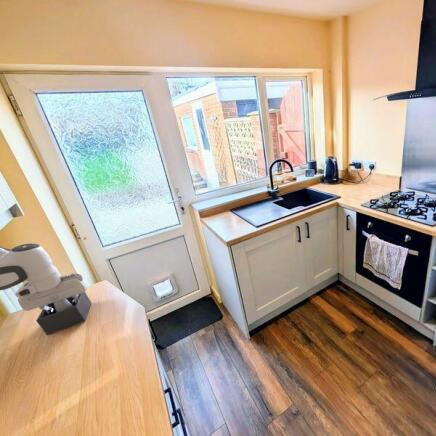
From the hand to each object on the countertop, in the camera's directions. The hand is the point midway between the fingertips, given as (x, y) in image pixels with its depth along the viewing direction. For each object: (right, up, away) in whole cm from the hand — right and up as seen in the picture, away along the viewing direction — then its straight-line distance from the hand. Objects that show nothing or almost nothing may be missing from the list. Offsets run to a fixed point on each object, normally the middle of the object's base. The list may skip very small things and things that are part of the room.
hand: (64, 307), depth 102 cm
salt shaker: (+1, -5, +2) cm, 5 cm away
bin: (+1, -5, +2) cm, 6 cm away
